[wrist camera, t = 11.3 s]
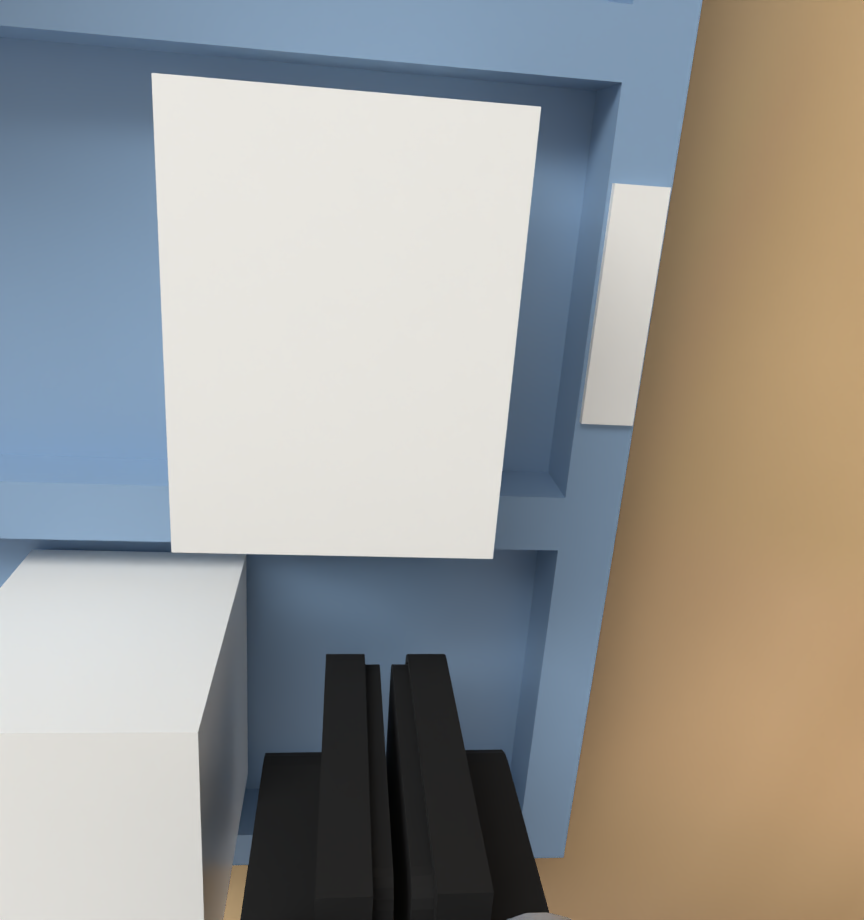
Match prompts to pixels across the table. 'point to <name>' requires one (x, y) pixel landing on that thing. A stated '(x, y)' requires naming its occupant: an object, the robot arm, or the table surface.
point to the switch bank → (535, 362)
